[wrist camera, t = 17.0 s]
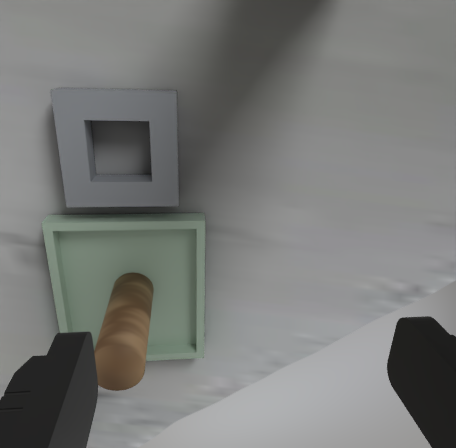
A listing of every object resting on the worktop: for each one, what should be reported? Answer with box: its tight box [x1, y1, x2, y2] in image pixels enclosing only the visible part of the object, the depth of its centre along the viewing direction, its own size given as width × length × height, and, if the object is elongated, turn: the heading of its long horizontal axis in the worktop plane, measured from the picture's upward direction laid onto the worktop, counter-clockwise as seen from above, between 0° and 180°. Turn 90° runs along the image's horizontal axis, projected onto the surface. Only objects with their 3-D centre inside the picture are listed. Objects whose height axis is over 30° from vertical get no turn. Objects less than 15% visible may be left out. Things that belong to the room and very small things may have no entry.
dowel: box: [94, 272, 154, 391], centre depth 43 cm, size 5×5×14 cm
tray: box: [42, 213, 205, 361], centre depth 49 cm, size 18×20×2 cm
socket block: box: [50, 88, 179, 207], centre depth 42 cm, size 12×12×3 cm
